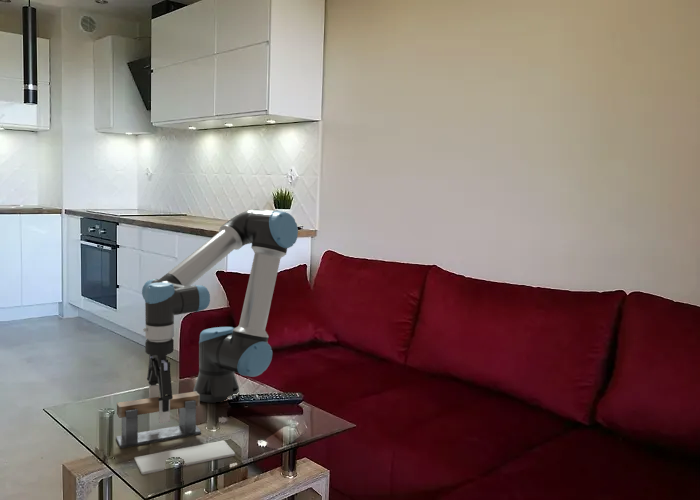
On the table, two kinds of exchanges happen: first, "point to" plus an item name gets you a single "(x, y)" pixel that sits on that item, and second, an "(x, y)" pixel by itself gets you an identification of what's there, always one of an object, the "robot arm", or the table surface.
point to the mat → (184, 456)
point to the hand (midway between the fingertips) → (159, 414)
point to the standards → (134, 438)
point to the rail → (156, 403)
